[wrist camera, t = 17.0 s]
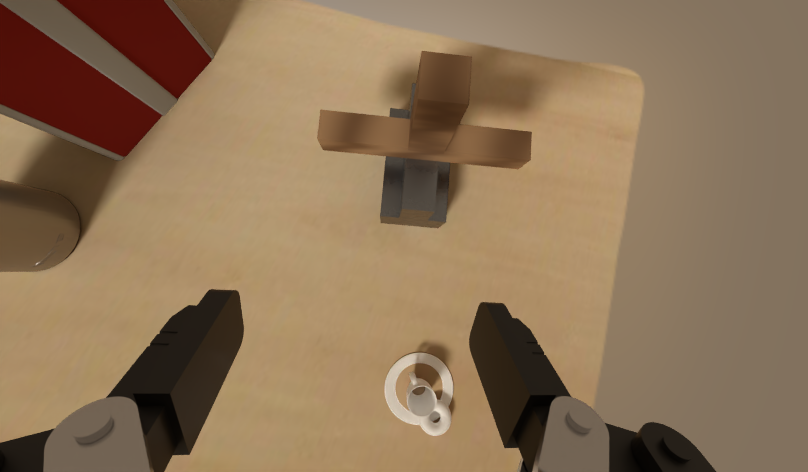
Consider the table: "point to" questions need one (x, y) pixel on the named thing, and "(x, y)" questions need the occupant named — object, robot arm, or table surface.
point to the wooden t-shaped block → (429, 124)
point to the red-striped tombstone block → (96, 67)
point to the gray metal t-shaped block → (414, 187)
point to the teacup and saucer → (423, 405)
